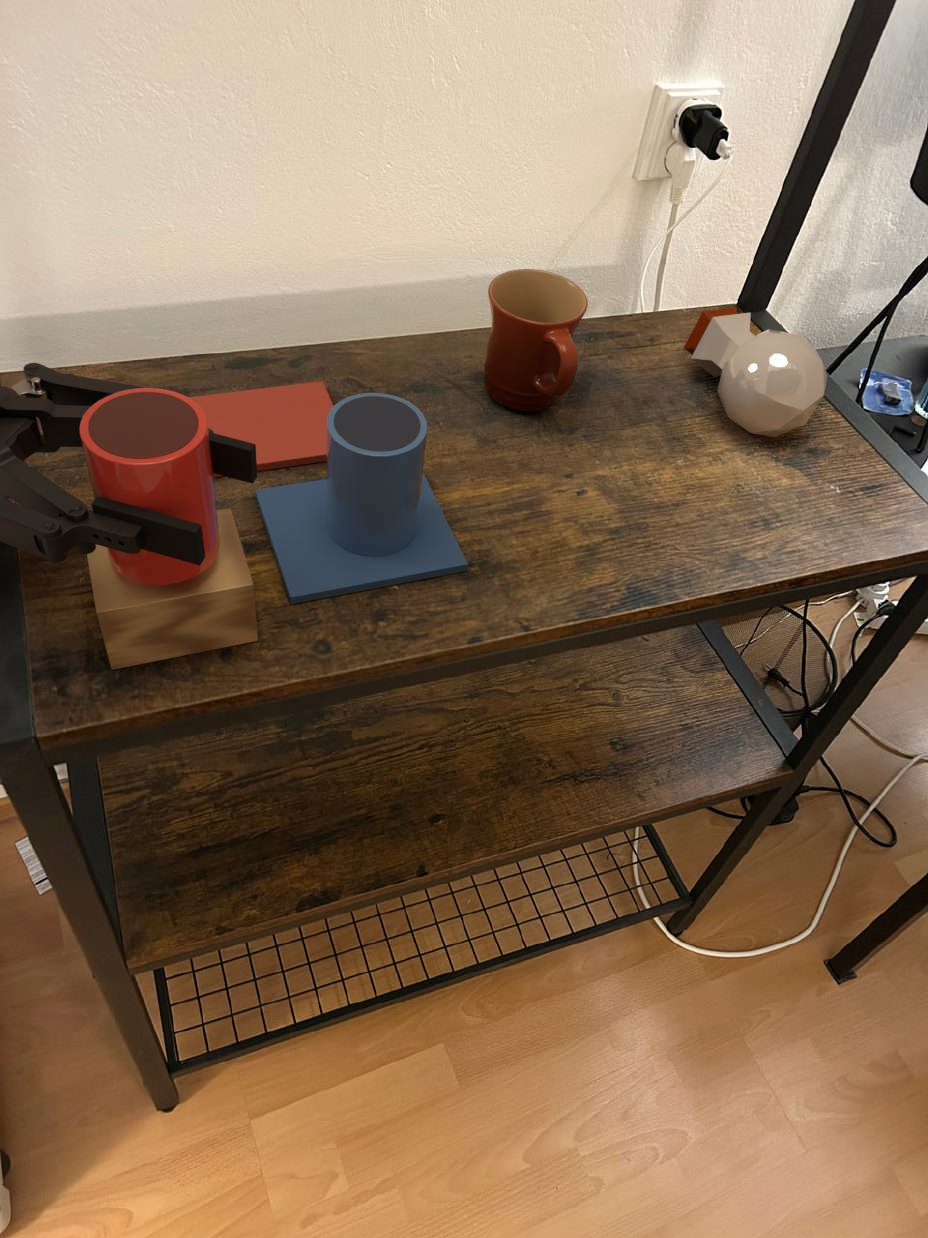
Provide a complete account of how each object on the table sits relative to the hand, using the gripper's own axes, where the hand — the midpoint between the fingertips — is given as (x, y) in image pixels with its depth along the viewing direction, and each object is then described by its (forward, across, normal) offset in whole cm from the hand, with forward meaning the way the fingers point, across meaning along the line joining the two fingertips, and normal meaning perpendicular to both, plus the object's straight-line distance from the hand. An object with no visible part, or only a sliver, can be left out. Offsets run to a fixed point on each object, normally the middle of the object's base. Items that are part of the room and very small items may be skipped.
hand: (228, 502), depth 60 cm
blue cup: (+5, -13, -12) cm, 19 cm away
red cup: (-5, 0, -6) cm, 7 cm away
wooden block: (-5, 0, -13) cm, 14 cm away
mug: (+13, -35, -13) cm, 40 cm away
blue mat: (+4, -13, -13) cm, 19 cm away
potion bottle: (+33, -43, -12) cm, 55 cm away
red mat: (-10, -20, -13) cm, 25 cm away
